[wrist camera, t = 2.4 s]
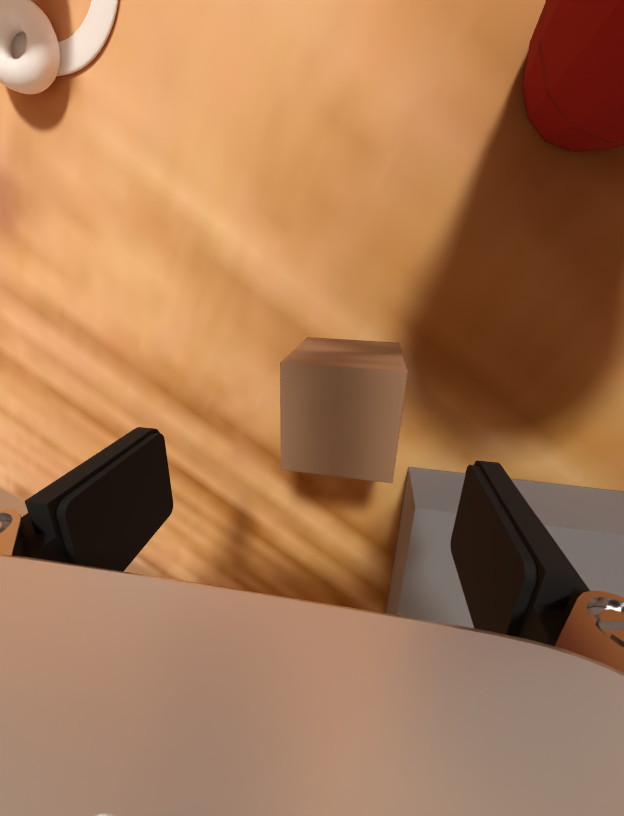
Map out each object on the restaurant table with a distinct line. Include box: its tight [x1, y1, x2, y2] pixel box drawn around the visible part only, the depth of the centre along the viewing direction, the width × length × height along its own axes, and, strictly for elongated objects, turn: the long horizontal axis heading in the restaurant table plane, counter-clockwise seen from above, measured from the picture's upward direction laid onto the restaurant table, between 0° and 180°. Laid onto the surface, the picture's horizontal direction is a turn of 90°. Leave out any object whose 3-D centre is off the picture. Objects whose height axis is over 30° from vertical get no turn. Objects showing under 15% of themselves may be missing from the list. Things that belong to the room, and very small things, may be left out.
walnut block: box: [280, 337, 408, 483], centre depth 17 cm, size 5×5×6 cm
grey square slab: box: [386, 467, 624, 628], centre depth 21 cm, size 16×16×4 cm
